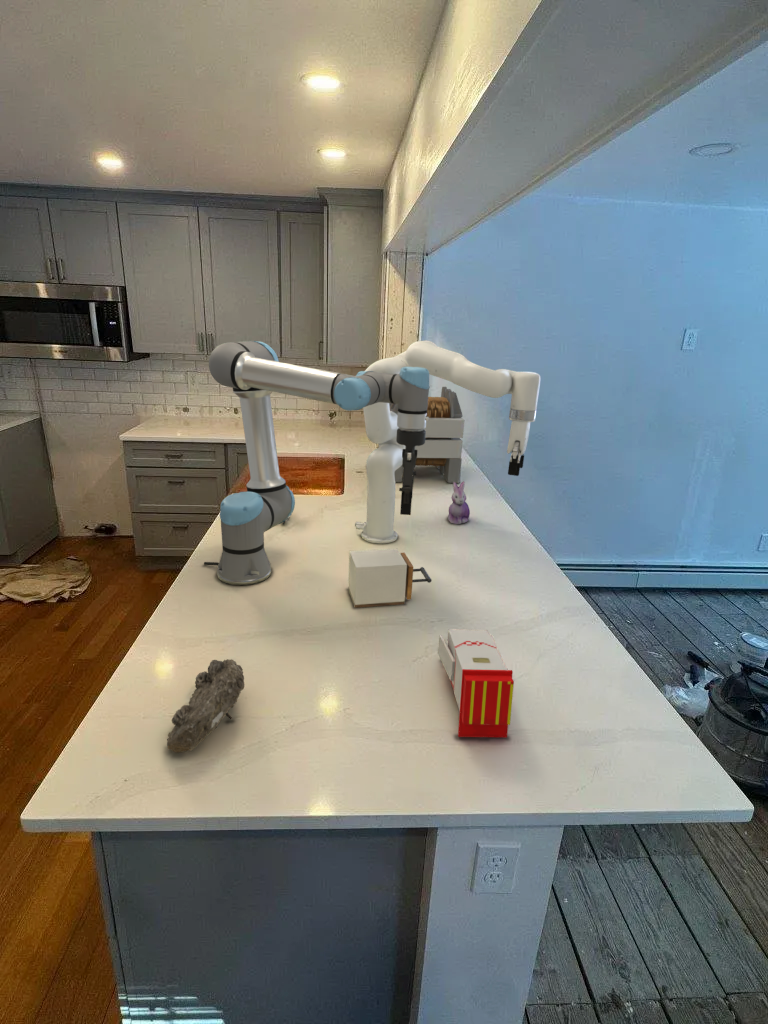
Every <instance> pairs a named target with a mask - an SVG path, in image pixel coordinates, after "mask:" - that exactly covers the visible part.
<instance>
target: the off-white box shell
mask: <svg viewBox="0 0 768 1024" xmlns="http://www.w3.org/2000/svg"><path fill="white" fill-rule="evenodd" d="M400 553H401V552H400V551H399V549H398V548H383V549H362V550H361V549H360V550H349V552H348V554H349V555H348V559H349V560H348V561H349V562H348V587H347V588H348V589H347V590H348V593H349V596H350V598H351V601H352V604H353V608H355V609H358V608H359V609H360V608H372V607H387V606H399V605H405V602H406V597H405V587H406V571H407V564H406V562H405V561H404V559H403V557H402V556H401V554H400Z"/></svg>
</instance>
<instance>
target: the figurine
mask: <svg viewBox="0 0 768 1024" xmlns="http://www.w3.org/2000/svg"><path fill="white" fill-rule="evenodd" d="M465 484H466V483H465V481H461V482H460V485H458V483H455V482H454V483H452V489H453V493H452V494H451V502H452V503H451V504H450V505H449V506H448V515H447V520H448V521H449V523H450V524H455V525H460V524H465V523H467V522H468V521H469V518H470V514H471V510H470V507H469V505H468V503H467V496H466V493H465Z"/></svg>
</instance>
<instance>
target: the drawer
mask: <svg viewBox="0 0 768 1024" xmlns="http://www.w3.org/2000/svg"><path fill="white" fill-rule="evenodd" d="M400 554H401V556H402V557H403V559H404V561H405V562H406V564H407V571H406V587H405V600H412V593H413V583H425V582H426V583H429V584H430V583H431V582H432V581H433V579H432V578H431V577H430V575H429V573H428V572H427V571H426V569H425V567H423V566H420V567H419V568H414V565H413V564H412V562H411V560H410V559H409V557H408V555H407V554H406V553H405V552H400ZM415 572H420V573H421V574H422V576H423V578H417V579H414V573H415Z"/></svg>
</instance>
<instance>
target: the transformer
mask: <svg viewBox="0 0 768 1024" xmlns="http://www.w3.org/2000/svg"><path fill="white" fill-rule="evenodd" d="M440 393H441V394H440V396H428V406H427V415H426V417H429V420H426V428H425V429H424V430H425V431H426V435H425V443H424V444H423V445H421V446H415V450H417V459H416V465H415V467H417V466H418V467H436V468H437V470H438V469H439V473H440V474H441V475H443V478H444V479H445V481H446V482H447V483H449V484H453V483H454V482H455V483H456V484H459V483H461V472H462V461H463V460H462V453H463V442H464V441H463V440H462V439H463V438H464V431H465V430H464V429H465V419H464V418H463V411H462V408H461V405H460V402H459V398H458V395H457V392H455V391H453V390H452V389H451V388H447V386H442V387H441V392H440ZM389 407H390V411H392V412H394V413H396V414H397V415H398V404H392V403H389ZM405 449H406V446H405ZM403 471H404V468H403V467H402V466H401V467H399V468H398V469H397V470H395V473H394V476H395V483H403Z"/></svg>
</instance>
